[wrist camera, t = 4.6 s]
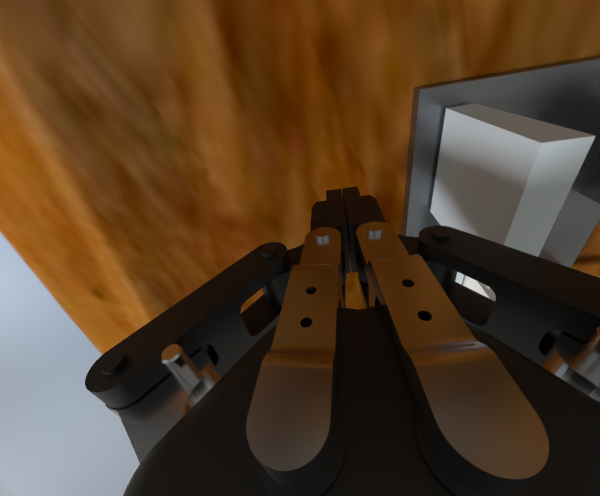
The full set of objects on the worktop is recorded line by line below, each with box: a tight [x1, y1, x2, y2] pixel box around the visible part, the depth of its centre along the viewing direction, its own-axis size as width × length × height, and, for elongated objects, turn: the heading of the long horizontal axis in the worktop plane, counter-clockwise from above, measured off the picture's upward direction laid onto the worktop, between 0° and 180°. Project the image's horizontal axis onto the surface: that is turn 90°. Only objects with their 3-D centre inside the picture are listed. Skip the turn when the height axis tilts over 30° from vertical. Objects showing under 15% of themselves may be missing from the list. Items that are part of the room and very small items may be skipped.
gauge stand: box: [402, 56, 600, 268], centre depth 14 cm, size 12×14×8 cm
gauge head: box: [430, 103, 596, 289], centre depth 13 cm, size 1×10×7 cm, turn 9°
